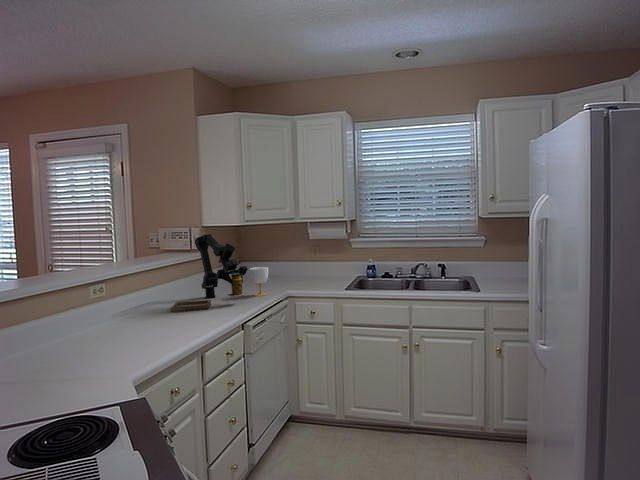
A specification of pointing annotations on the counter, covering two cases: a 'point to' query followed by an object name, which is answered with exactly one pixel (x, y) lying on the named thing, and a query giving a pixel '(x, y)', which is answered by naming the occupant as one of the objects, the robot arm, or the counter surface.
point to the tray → (191, 306)
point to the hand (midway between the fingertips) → (237, 283)
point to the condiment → (236, 285)
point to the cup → (259, 277)
